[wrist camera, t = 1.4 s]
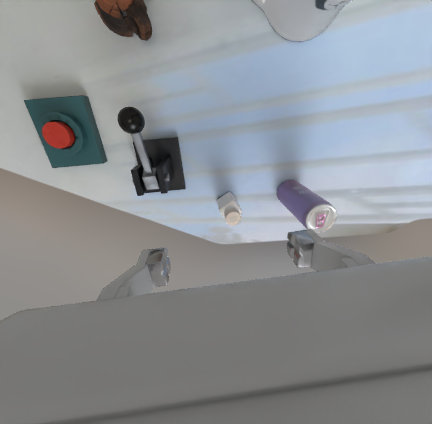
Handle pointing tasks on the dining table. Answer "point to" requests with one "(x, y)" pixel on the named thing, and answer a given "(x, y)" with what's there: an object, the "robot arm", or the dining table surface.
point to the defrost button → (58, 134)
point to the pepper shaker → (229, 209)
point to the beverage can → (307, 206)
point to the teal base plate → (79, 123)
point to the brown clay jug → (134, 21)
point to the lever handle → (139, 143)
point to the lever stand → (161, 165)
